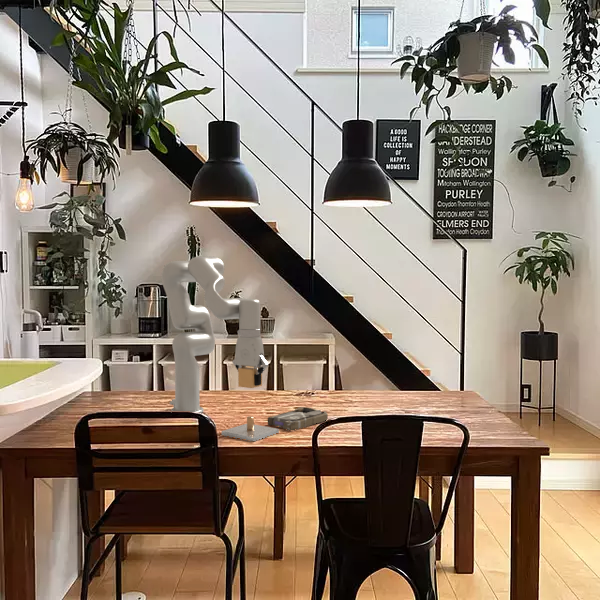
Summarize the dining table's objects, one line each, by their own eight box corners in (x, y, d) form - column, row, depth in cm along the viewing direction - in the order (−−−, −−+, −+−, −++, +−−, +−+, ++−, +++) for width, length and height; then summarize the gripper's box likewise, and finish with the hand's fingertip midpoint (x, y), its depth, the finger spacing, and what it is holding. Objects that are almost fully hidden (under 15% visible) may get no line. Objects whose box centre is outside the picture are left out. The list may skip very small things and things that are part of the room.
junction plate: (221, 435, 228) (221, 418, 227) (247, 427, 239) (247, 410, 239) (253, 441, 220) (253, 423, 219) (278, 433, 231) (278, 416, 231)
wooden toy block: (238, 386, 236) (238, 368, 236) (248, 384, 241) (248, 366, 241) (251, 388, 233) (251, 369, 232) (262, 385, 238) (261, 367, 237)
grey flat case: (260, 415, 243) (291, 422, 234) (303, 404, 262) (333, 410, 252) (260, 425, 243) (291, 432, 234) (303, 414, 262) (333, 420, 253)
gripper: (224, 333, 238) (224, 383, 238) (263, 336, 228) (263, 388, 229) (237, 332, 244) (238, 380, 245) (275, 334, 234) (276, 385, 235)
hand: (250, 383), depth 237 cm, fingers closed on wooden toy block, 5 cm apart
